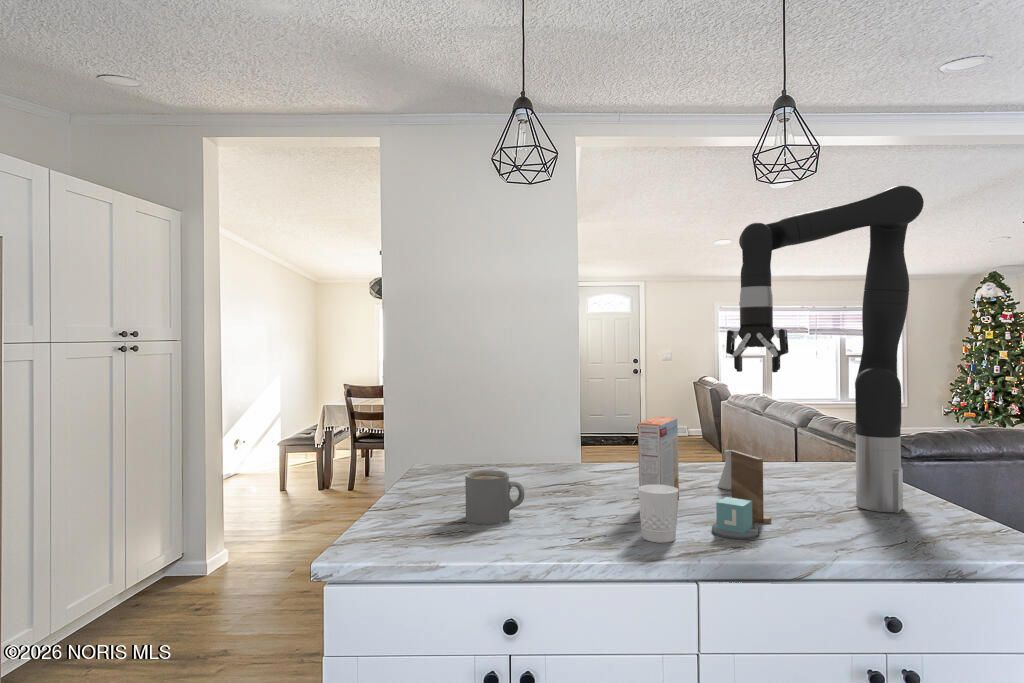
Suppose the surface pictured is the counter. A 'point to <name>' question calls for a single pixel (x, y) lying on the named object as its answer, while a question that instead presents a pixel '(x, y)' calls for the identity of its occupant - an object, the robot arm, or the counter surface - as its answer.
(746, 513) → the letter cube
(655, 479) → the cracker box
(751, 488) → the wooden stand
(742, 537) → the coaster
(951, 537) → the counter surface
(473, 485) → the coffee mug
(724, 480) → the flask
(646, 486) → the white cup
